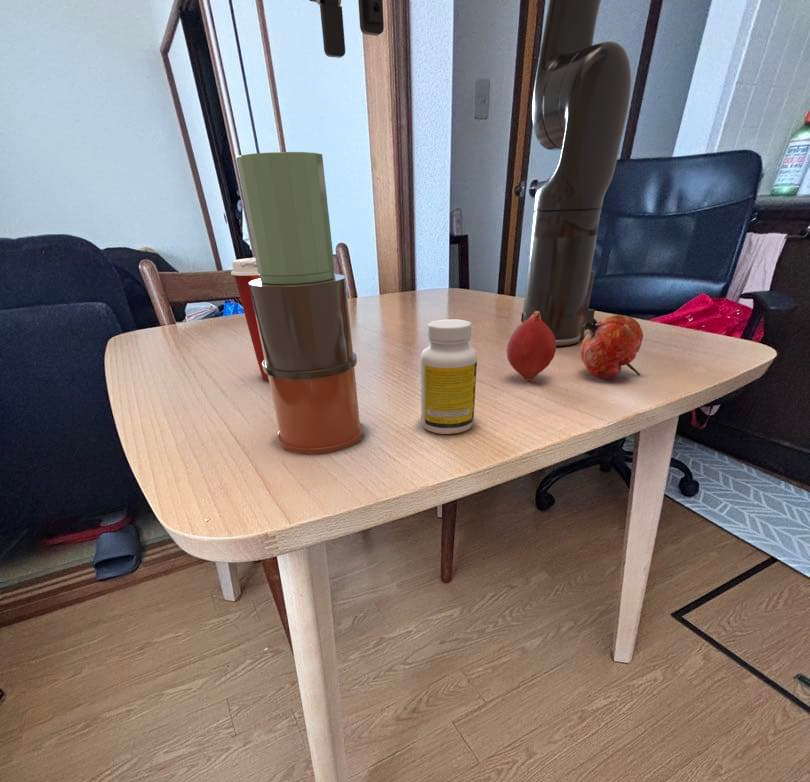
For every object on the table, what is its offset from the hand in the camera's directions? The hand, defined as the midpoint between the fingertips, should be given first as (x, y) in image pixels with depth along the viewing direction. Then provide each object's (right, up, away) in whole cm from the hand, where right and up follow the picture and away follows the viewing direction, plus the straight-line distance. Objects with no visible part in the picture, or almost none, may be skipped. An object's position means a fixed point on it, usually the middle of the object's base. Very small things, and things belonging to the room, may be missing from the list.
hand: (352, 46), depth 48 cm
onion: (+21, -30, +12) cm, 39 cm away
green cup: (-4, -29, -9) cm, 30 cm away
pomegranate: (+31, -30, +12) cm, 45 cm away
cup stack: (-3, -40, 0) cm, 40 cm away
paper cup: (-12, -28, +18) cm, 35 cm away
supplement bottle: (+10, -39, +1) cm, 40 cm away
